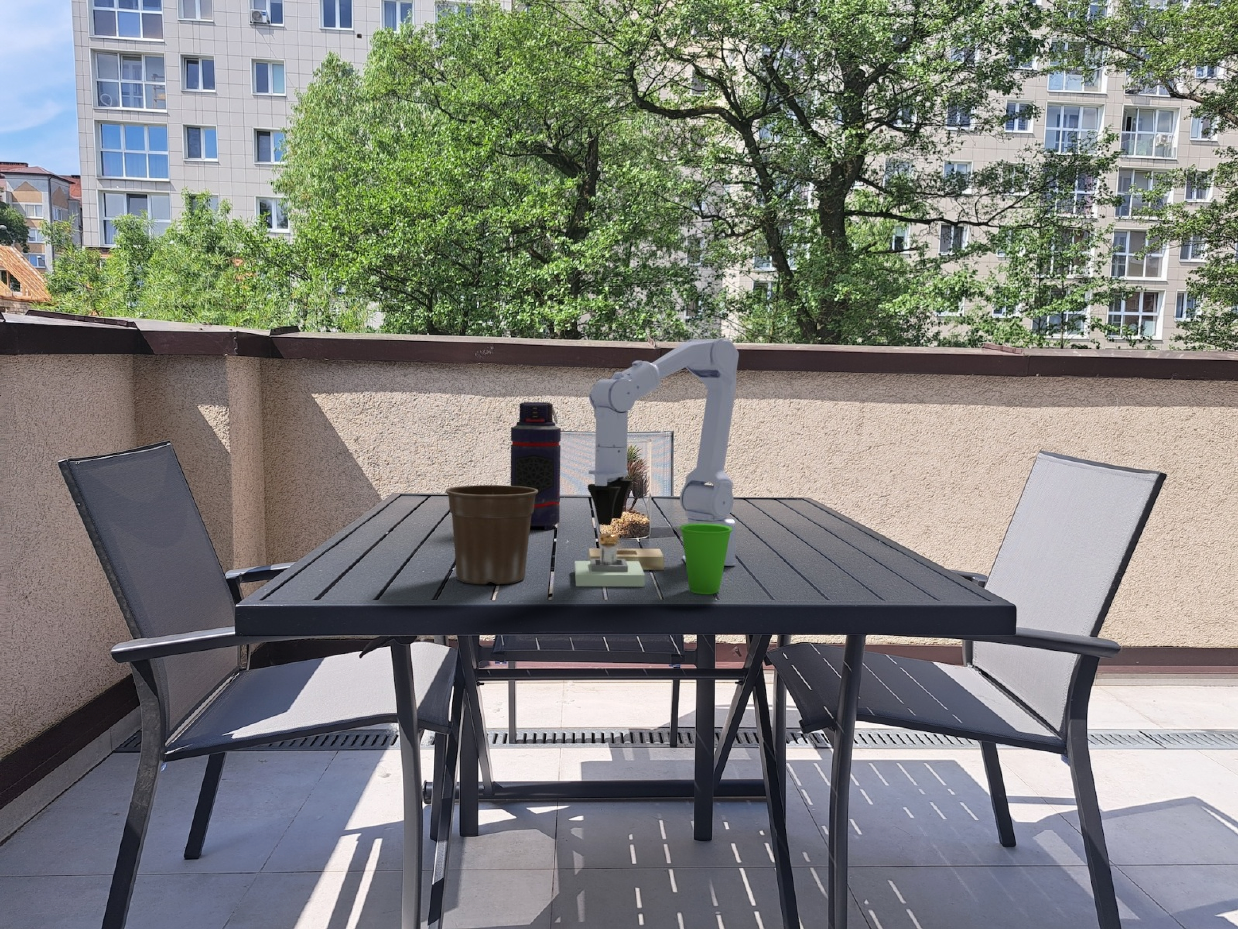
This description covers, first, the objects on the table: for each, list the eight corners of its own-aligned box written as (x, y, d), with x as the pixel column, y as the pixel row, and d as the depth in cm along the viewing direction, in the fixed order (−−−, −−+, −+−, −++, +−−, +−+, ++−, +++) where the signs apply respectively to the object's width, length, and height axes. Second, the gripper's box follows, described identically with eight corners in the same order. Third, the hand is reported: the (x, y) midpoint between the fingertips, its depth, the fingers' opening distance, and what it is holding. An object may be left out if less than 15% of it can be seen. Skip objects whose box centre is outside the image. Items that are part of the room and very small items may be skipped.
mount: (659, 561, 181) (659, 548, 181) (663, 569, 173) (664, 556, 173) (588, 560, 180) (589, 548, 180) (590, 569, 172) (590, 556, 172)
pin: (616, 576, 166) (617, 533, 165) (618, 580, 163) (618, 536, 162) (598, 576, 166) (598, 533, 165) (599, 580, 163) (599, 536, 162)
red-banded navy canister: (558, 531, 214) (559, 403, 211) (507, 530, 213) (508, 402, 211) (560, 522, 227) (562, 402, 225) (513, 521, 227) (514, 401, 224)
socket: (638, 571, 171) (638, 556, 170) (644, 586, 159) (645, 569, 158) (574, 571, 170) (574, 555, 169) (576, 586, 158) (576, 569, 157)
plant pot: (481, 565, 174) (482, 481, 172) (553, 575, 166) (555, 487, 165) (426, 581, 159) (426, 490, 158) (502, 593, 152) (503, 497, 150)
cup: (739, 595, 153) (741, 531, 152) (688, 598, 151) (690, 532, 150) (718, 583, 162) (720, 522, 161) (670, 586, 159) (672, 524, 158)
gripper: (600, 442, 171) (599, 514, 172) (578, 448, 157) (577, 526, 158) (636, 444, 169) (635, 516, 170) (618, 449, 155) (616, 528, 156)
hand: (610, 521), depth 164 cm, fingers open, 7 cm apart
